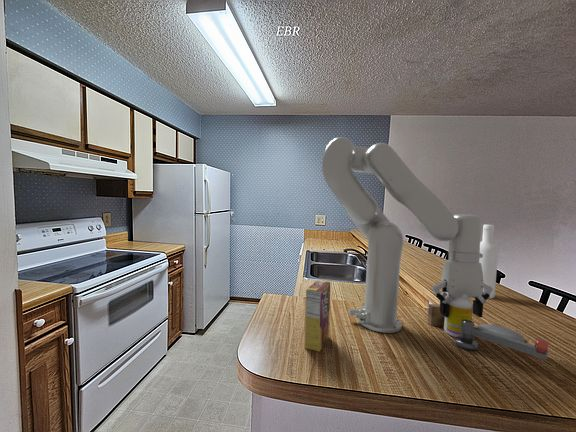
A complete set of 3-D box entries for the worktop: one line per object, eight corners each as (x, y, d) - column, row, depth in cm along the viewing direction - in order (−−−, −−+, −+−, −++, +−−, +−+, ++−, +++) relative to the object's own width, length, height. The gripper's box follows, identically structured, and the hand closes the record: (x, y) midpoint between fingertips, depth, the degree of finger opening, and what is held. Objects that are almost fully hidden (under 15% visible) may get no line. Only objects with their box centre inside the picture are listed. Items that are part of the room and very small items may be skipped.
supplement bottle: (474, 340, 77) (478, 295, 76) (448, 337, 78) (451, 293, 77) (464, 329, 83) (467, 288, 83) (440, 327, 85) (443, 285, 84)
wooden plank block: (430, 325, 85) (432, 306, 85) (427, 322, 87) (428, 304, 87) (468, 326, 86) (470, 307, 85) (464, 323, 88) (466, 305, 87)
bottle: (467, 292, 119) (472, 223, 117) (480, 291, 122) (486, 223, 120) (485, 299, 112) (491, 225, 110) (499, 298, 114) (505, 225, 112)
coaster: (496, 343, 75) (496, 341, 75) (468, 325, 86) (469, 323, 86) (535, 345, 76) (535, 342, 76) (503, 326, 87) (503, 324, 87)
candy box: (314, 333, 77) (317, 279, 77) (329, 336, 76) (332, 282, 75) (302, 348, 69) (305, 288, 68) (319, 352, 68) (322, 291, 67)
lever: (452, 344, 74) (454, 318, 73) (458, 338, 77) (459, 313, 77) (544, 377, 61) (547, 346, 60) (546, 368, 64) (549, 338, 64)
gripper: (483, 254, 83) (480, 310, 84) (427, 254, 83) (424, 310, 84) (503, 260, 76) (500, 321, 77) (441, 259, 75) (438, 321, 76)
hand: (460, 315), depth 80 cm, fingers open, 9 cm apart
